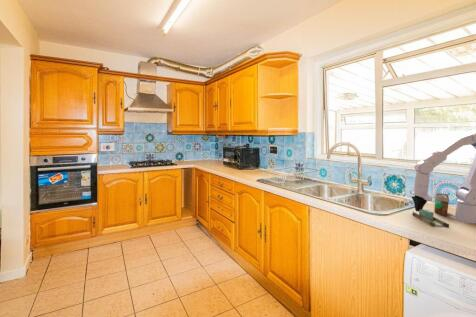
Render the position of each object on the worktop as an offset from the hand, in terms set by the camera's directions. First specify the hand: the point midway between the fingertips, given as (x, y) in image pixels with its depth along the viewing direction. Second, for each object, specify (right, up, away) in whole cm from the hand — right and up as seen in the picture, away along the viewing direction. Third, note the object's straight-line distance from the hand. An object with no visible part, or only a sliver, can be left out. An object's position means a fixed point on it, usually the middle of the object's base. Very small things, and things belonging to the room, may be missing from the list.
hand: (418, 211), depth 126 cm
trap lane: (-1, -3, -8) cm, 9 cm away
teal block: (-1, -3, -6) cm, 6 cm away
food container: (+14, -2, +5) cm, 15 cm away
